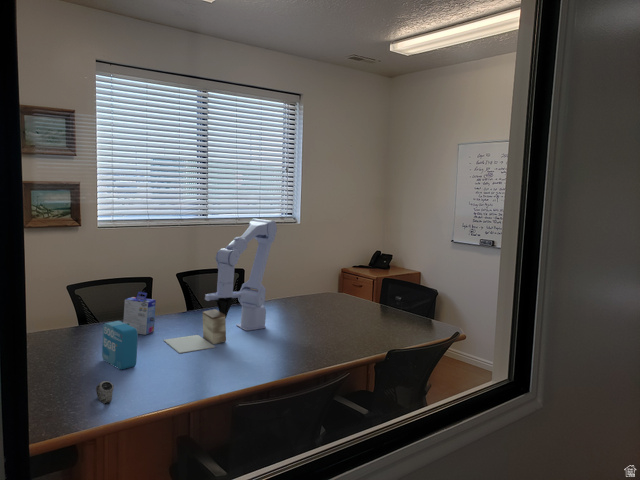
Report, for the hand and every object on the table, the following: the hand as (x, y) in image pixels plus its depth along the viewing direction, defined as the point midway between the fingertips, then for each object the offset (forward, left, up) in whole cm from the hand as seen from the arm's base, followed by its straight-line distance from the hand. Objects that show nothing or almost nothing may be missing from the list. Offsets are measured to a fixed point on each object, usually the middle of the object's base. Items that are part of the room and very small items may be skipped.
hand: (223, 318), depth 171 cm
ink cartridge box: (+23, -20, -8) cm, 32 cm away
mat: (+13, 0, -8) cm, 15 cm away
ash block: (+3, 0, -8) cm, 8 cm away
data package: (+38, +7, -8) cm, 40 cm away
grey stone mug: (+48, +29, -8) cm, 57 cm away
